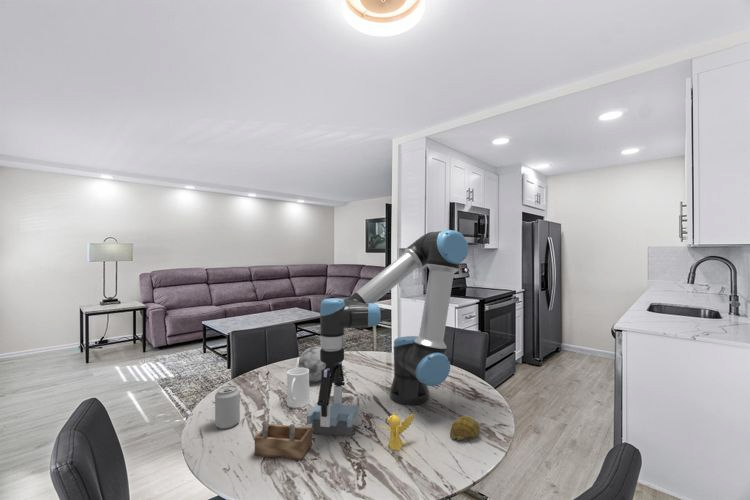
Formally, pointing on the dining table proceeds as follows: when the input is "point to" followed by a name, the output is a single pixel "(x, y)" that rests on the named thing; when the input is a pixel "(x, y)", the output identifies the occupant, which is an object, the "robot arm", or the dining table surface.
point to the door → (335, 414)
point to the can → (227, 407)
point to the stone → (312, 363)
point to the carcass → (283, 441)
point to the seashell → (464, 428)
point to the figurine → (397, 430)
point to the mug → (298, 387)
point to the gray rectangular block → (332, 428)
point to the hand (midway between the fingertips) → (331, 415)
